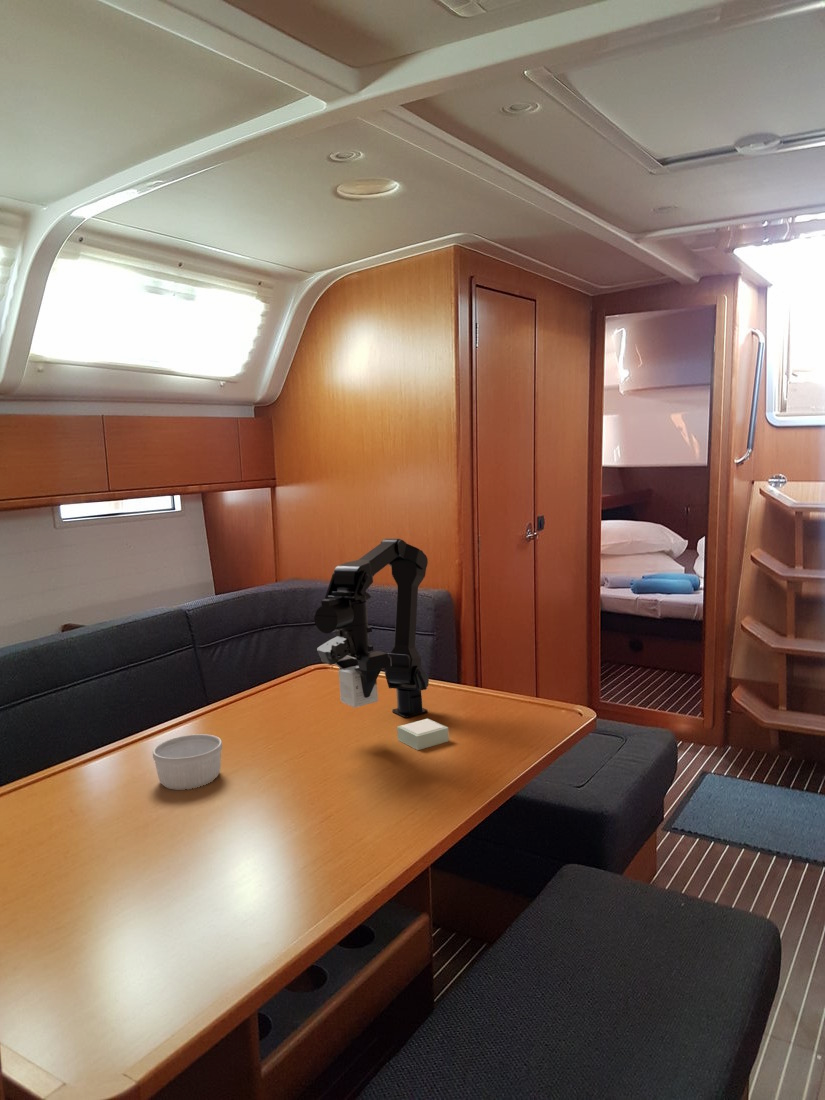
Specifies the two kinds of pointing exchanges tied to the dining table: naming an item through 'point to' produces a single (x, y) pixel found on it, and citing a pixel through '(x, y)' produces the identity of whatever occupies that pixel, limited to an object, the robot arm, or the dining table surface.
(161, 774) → the ramekin
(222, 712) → the dining table surface
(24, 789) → the dining table surface
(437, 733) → the base block
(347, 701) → the skincare box
